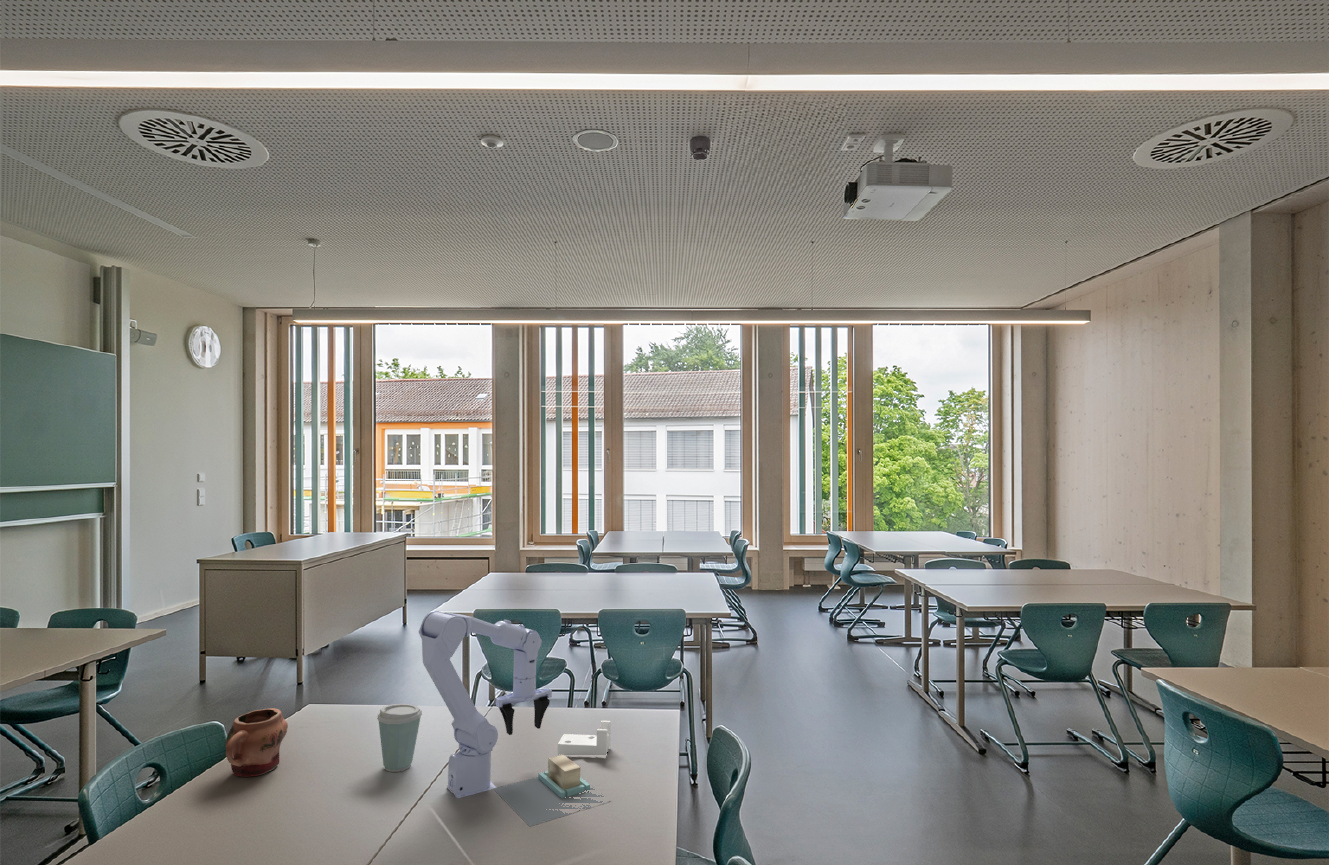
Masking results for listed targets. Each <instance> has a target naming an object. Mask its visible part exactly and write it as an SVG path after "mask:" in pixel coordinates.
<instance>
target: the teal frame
mask: <svg viewBox="0 0 1329 865" xmlns="http://www.w3.org/2000/svg"><path fill="white" fill-rule="evenodd" d="M537 774H538V776H537V777H538V778H539V779H540V780H541V781H542V782H543V783H544V784H546V785H547V786H548V787H549V788H550V789H551V790H552V791H554V792H555V793H556V794H557V795H558V796H559V797H561V798H564V797H565V795H566V796H571V795H574V794H578V793H581V792H584V791H585V790H586V791H587V790H590V785H591V784H590V783H589V782H588V781H587V780H585V779H583V777H581V776H580V786H576V787H573V788H569V789H566V790H565V791H564V790H563V789H562V788H560V787H559V786H558V785H557V784H556V783H554V782H553V781H552V780H551V779H550V778H549V777H548V770H545V771H543V772H538V773H537Z"/></svg>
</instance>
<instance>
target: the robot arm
mask: <svg viewBox="0 0 1329 865" xmlns="http://www.w3.org/2000/svg"><path fill="white" fill-rule="evenodd" d="M471 633H472V634H476V635H481V636H485V637H489V638H490V641H491V642H492V643H491V644H494V645H496V646H500V647H504V648H508V649H510V650H513V675H512V676H513V680H512V692H511V693H508V694H505V695H502V696H499V697H495V706H496V707H497V708H498V709H499V711H500V713H501V715H502V719H503V721H504V726H505V730H506V734H507V735H509V736H511V735H513V733H514V732H513V731H514V727H513V726H514V724H513V723H514V715H515V714H514V713H515V709H514V708H513V705H514V704H520V703H524V702H530V701H533V709H534V723H533V724H534V727H535V728H537V729H539V730H540V729H541V727H542V721H543V718H544V715H545V713H546V710H548V707H549V706H550V701H551V700H550V699H549V698H552V696H553V695H552V694H553V693H552V692H553V690H552V689H551V688H549V687H547V688H537V687H536V686H537V659H538V657H539V650H540V648H541V647H542V643H543V639H541V637H540V634H539V633H538V631H536V630H535V629H530V628H525V625H523V624H519V625H516V624H513V623H512V621H511V620H509V619H503V620H499V621H496V622H495V623H490V622H488V621H485V620H482V619H479V618H476V617H474V616H469V615H465V614H460V613H452V612H441V611H440V610H433V611H430V612H428V613H427V614H426V615H425V616H424V618H423V619H422V622H421V624H420V626H419V630H418V634H419V637H420V638H421V650H422V651H421V652H422V663H423V666H424V668H425V669H426V671H427V673H428V675H429V677H430V678H431V680H432V682H433V684H434V686H435V688H436V689H437V691H438V692H439V695H440V696H441V698H442V700H443V702H444V703H445V704H444V705H445V706H446V708H447V709H448V711H449V712H450V715H451V717H452V718H453V720H452V722H451V726H452V728H453V736H454V737H453V738H454V740H455V742H456V743H458V749H459V751H457V752H455V753H452V754H450V756H449V758H448V765H447V766H448V767H447V768H448V770H447V773H448V774H447V785H446V788H447V789H448V790H449V791H450V792H451V793H452V794H453V795H454V796H455V797H456V798H457V799H461V798H464V797H468V796H472V795H475V794H476V795H477V794H478V793H483V792H486V791H490V790H491V791H492V790H494V788H497V786H496V785H495V784H494V783H493V782H492V781H491V771H492V770H491V768H492V766H491V765H492V764H491V763H492V761H491V760H492V752H493V749H494V747H495V746H496V744H497V742H498V738H499V732H498V729H497V727H496V726H495V725H493V724H491V723H489V721H488V719H487V718H486V717H485V716H484V715H483V714H482V713H481V712H479V710H478V709H477V707H476V705H475V704H474V702H473V700H472V698H471V696H470V694H469V693H468V690H467V689H466V686H465V685H464V683H463V681H462V679H461V678H460V675H459V674H458V672H457V670H456V669H455V666H454V664H453V663H452V661H451V658H452V657H453V656H454V654H455V652H456V651H457V649H458V648H459V646H460V644H461V643H462V641H463V640H464V637H465V638H468V637H469V636H470V634H471Z"/></svg>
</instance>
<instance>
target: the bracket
mask: <svg viewBox="0 0 1329 865" xmlns="http://www.w3.org/2000/svg"><path fill="white" fill-rule="evenodd" d="M611 726H612V725H611V720H600V728H597V729H596V735H595V734H593V735H592V734H575V733H574V734H572V733H571V734H570V733H563V735H562V736H561V738H560V740H559V742H558V743H557V756H558V755H559V754H560V755H561V754H562V755H606V754H607V752H608V753H609V750H610V748H609V746H610V747H611V731H612V730H611ZM608 749H609V750H608Z"/></svg>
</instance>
